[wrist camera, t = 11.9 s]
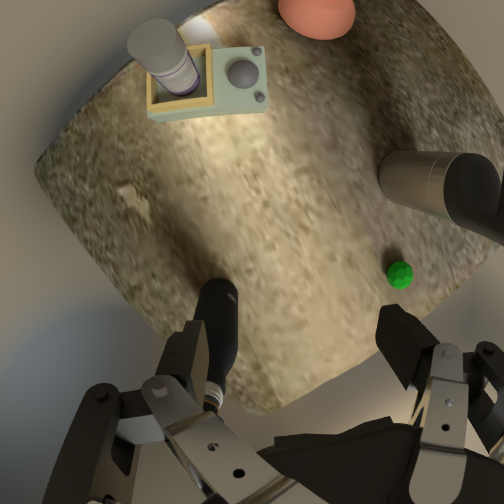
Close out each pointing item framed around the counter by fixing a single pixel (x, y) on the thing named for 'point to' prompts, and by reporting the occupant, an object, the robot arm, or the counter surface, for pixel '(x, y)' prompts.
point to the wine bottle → (218, 336)
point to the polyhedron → (400, 275)
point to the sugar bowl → (318, 17)
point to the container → (164, 56)
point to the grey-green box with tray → (215, 85)
